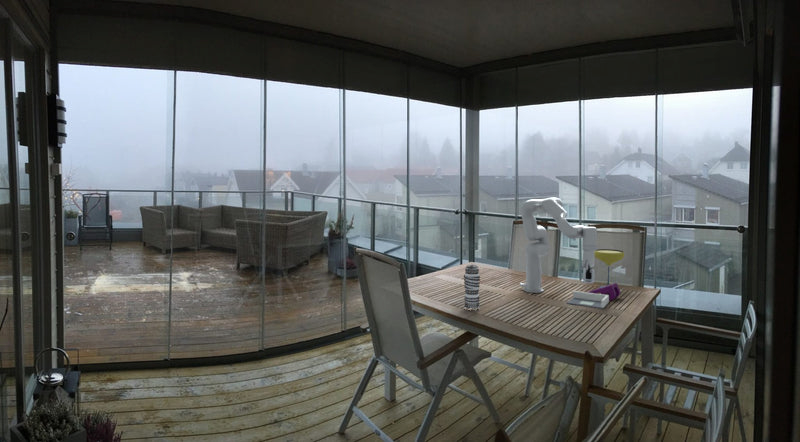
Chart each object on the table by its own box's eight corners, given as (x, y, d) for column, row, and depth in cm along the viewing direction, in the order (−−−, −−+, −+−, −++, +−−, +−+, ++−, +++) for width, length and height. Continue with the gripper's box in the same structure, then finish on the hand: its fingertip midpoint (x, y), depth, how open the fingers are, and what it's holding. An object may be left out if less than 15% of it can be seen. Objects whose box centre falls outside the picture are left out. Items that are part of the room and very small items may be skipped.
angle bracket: (583, 280, 273) (583, 268, 272) (594, 281, 269) (594, 269, 269) (580, 282, 268) (581, 270, 267) (591, 283, 264) (592, 271, 264)
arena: (566, 303, 271) (566, 296, 271) (573, 298, 283) (573, 290, 283) (603, 308, 260) (603, 300, 259) (608, 302, 272) (608, 295, 271)
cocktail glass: (624, 287, 311) (625, 250, 309) (621, 292, 296) (622, 254, 294) (596, 284, 321) (596, 248, 319) (591, 289, 306) (592, 252, 304)
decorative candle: (467, 311, 257) (467, 267, 255) (461, 307, 266) (461, 264, 264) (482, 310, 260) (482, 266, 258) (475, 305, 269) (475, 263, 267)
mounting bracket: (589, 306, 286) (616, 298, 274) (583, 293, 288) (610, 285, 276) (595, 303, 293) (622, 295, 281) (589, 291, 295) (616, 282, 283)
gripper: (585, 245, 277) (585, 276, 279) (579, 249, 265) (578, 280, 266) (599, 246, 273) (598, 277, 275) (593, 250, 261) (592, 282, 262)
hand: (588, 278), depth 270 cm, fingers closed on angle bracket, 1 cm apart
